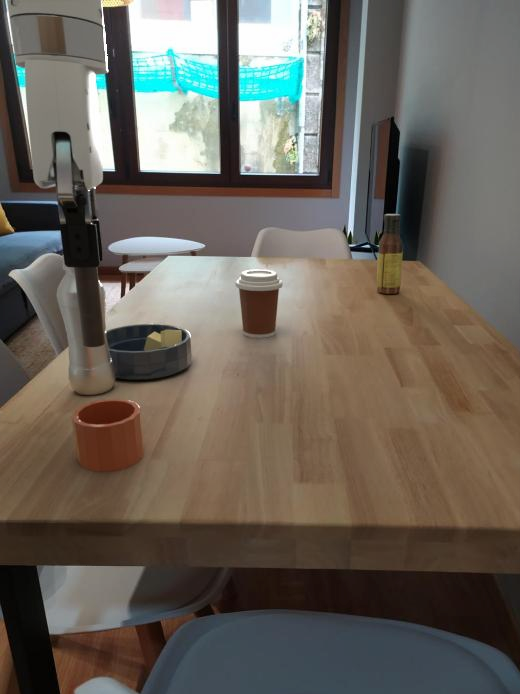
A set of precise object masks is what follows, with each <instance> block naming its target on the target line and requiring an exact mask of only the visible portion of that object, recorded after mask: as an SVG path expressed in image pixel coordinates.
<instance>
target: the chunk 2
mask: <svg viewBox="0 0 520 694" xmlns="http://www.w3.org/2000/svg"><path fill="white" fill-rule="evenodd" d="M181 342H182V332H181V330H164V331H161V348H167V347H171V346H174V345H177V344H179V343H181Z"/></svg>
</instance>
